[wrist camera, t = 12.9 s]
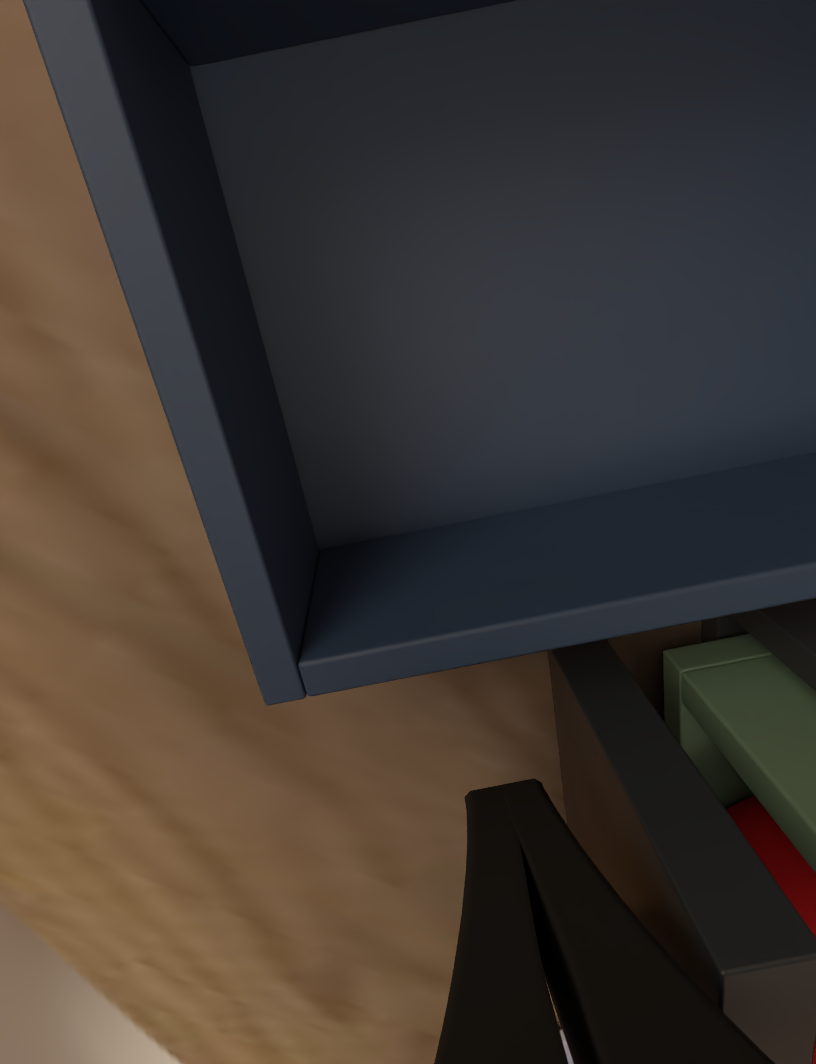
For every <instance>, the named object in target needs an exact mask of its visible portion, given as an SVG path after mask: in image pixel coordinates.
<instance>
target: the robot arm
mask: <svg viewBox="0 0 816 1064" xmlns="http://www.w3.org/2000/svg"><path fill="white" fill-rule="evenodd" d="M465 802H466V810H467V862H466V876H465V886H464V897H463V907H462V916H461V924H460V931H459V937H458V944H457V950H456V956H455V963H454V969H453V976H452V981H451V987H450V992H449V997H448V1003H447V1008H446V1013H445V1018H444V1022H443V1027H442V1032H441V1036H440V1041H439V1045H438V1050H437V1054H436V1059H435V1063H434V1064H775V1063H774V1062H773V1061H772V1060H771V1059H770V1058H769V1057H768V1056H767V1055H766V1054H765V1053H764V1052H763V1051H762V1050H761V1049H760V1048H759V1047H758V1046H757V1045H756V1044H755V1043H754V1042H753V1041H752V1040H751V1039H750V1038H749V1037H748V1036H747V1035H746V1034H745V1033H744V1032H743V1031H742V1030H741V1029H740V1028H739V1027H738V1026H737V1025H736V1024H735V1023H734V1022H733V1021H732V1020H731V1019H730V1018H729V1017H728V1016H727V1015H726V1014H725V1013H724V1012H722V1010H721V1009H720V1008H719V1007H718V1006H717V1005H716V1004H715V1003H714V1002H713V1001H712V1000H711V999H710V998H709V997H708V996H707V995H706V994H705V993H704V992H703V991H702V990H701V988H700V987H699V986H698V985H697V984H696V983H695V982H694V981H693V980H692V979H691V978H690V977H689V976H688V975H687V974H686V973H685V971H684V970H683V969H682V968H681V967H680V966H679V965H678V964H677V963H676V962H675V960H674V959H673V958H672V957H671V956H670V955H669V954H668V953H667V952H666V950H665V949H664V948H663V947H662V946H661V945H660V944H659V942H658V941H657V940H656V939H655V938H654V937H653V935H652V934H651V933H650V932H649V931H648V930H647V928H646V927H645V926H644V925H643V924H642V923H641V921H640V920H639V919H638V918H637V917H636V916H635V914H634V913H633V912H632V911H631V910H630V908H629V907H628V906H627V905H626V903H625V902H624V901H623V900H622V899H621V897H620V896H619V895H618V894H617V892H616V891H615V890H614V888H613V887H612V886H611V885H610V883H609V882H608V881H607V879H606V878H605V877H604V875H603V874H602V873H601V872H600V870H599V869H598V868H597V866H596V865H595V864H594V863H593V861H592V860H591V859H590V857H589V856H588V855H587V853H586V852H585V850H584V849H583V848H582V846H581V845H580V843H579V842H578V841H577V839H576V838H575V836H574V835H573V833H572V832H571V831H570V829H569V828H568V826H567V825H566V823H565V822H564V820H563V819H562V817H561V816H560V814H559V812H558V811H557V809H556V808H555V806H554V804H553V803H552V801H551V799H550V798H549V796H548V794H547V792H546V791H545V789H544V787H543V785H542V783H541V782H540V781H538V780H536V779H529V780H524V781H519V782H514V783H509V784H504V785H499V786H493V787H488V788H483V789H478V790H473V791H470V792H469V793H468V794H467V795H466V796H465ZM545 979H546V980H545ZM546 982H547V984H546ZM547 985H548V987H547ZM548 988H549V991H550V994H551V997H552V1000H553V1003H554V1006H555V1009H556V1012H557V1015H558V1018H559V1021H560V1024H561V1027H562V1029H561V1030H560V1031H559V1027H558V1024H557V1020H556V1016H555V1013H554V1009H553V1005H552V1002H551V998H550V995H549V991H548Z"/></svg>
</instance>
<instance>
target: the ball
mask: <svg viewBox="0 0 816 1064" xmlns="http://www.w3.org/2000/svg"><path fill="white" fill-rule="evenodd" d="M726 810H727V812H728V813H729V815H730V816H731V818H732V819H733V820H734V822H735V823H736V825H737V826H738V828H739V829H740V830H741V832H742V833H743V835H744V836H745V838H746V839H747V840H748V842H749V843H750V845H751V846H752V847H753V849H754V850H755V852H756V853H757V855H758V856H759V857H760V859H761V860H762V862H763V863H764V865H765V866H766V867H767V869H768V870H769V872H770V873H771V875H772V876H773V877H774V879H775V880H776V882H777V883H778V884H779V886H780V887H781V889H782V890H783V892H784V893H785V894H786V896H787V897H788V899H789V900H790V902H791V903H792V904H793V906H794V907H795V909H796V910H797V911H798V913H799V914H800V916H801V917H802V919H803V920H804V921H805V923H806V924H807V926H808V927H809V929H810V930H811V931H812V933H813V934H814V936H815V937H816V873H815V872H814V871H813V869H812V868H811V867H810V865H809V864H808V863H807V862H806V860H805V859H804V858H803V856H802V855H801V854H800V853H799V851H798V850H797V849H796V848H795V846H794V845H793V844H792V842H791V841H790V840H789V839H788V837H787V836H786V835H785V833H784V832H783V831H782V830H781V828H780V827H779V826H778V824H777V823H776V822H775V821H774V819H773V818H772V817H771V816H770V814H769V813H768V812H767V810H766V809H765V808H764V807H763V805H762V804H761V803H760V801H759V800H758V799H757V798H756V796H753V797H749V798H747V799H745V800H742V801H740V802H738V803H736V804H734V805H732V806H731V807H729V808H728V809H726ZM812 1064H816V1041H815V1048H814V1055H813V1063H812Z"/></svg>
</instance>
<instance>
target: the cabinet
mask: <svg viewBox="0 0 816 1064" xmlns="http://www.w3.org/2000/svg"><path fill="white" fill-rule="evenodd" d="M745 634H751V635H752V636H753V637H754V638H755V639H756V640H757V641H759V642H760V643H761V644H762V645H763V646H764V647H765V648H767V649H768V650H769V651H770V652H771V653H772V654H773V655H775V656H776V657H777V658H778V659H779V660H780V661H781V662H783V663H784V664H785V665H786V666H787V667H788V668H790V669H791V670H792V671H793V672H794V673H795V674H796V675H798V676H799V677H800V678H801V679H802V680H803V681H804V682H806V683H807V684H808V685H809V686H810V687H811V688H812V689H814V690H815V691H816V598H815V599H809V600H804V601H799V602H794V603H789V604H784V605H779V606H773V607H768V608H763V609H758V610H753V611H748V612H743V613H737V614H732V615H727V616H722V617H717V618H712V619H707V620H702V643H704V642H709V641H714V640H719V639H724V638H729V637H735V636H740V635H745Z"/></svg>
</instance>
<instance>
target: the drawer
mask: <svg viewBox="0 0 816 1064" xmlns="http://www.w3.org/2000/svg"><path fill="white" fill-rule="evenodd" d="M548 656H549V665H550V674H551V683H552V692H553V701H554V710H555V719H556V728H557V737H558V746H559V755H560V764H561V773H562V782H563V791H564V800H565V809H566V818H567V826H568V828H569V829H570V831H571V832H572V833H573V835H574V836H575V838H576V839H577V841H578V842H579V843H580V845H581V846H582V848H583V849H584V850H585V852H586V853H587V855H588V856H589V857H590V859H591V860H592V861H593V863H594V864H595V865H596V866H597V868H598V869H599V870H600V872H601V873H602V874H603V875H604V877H605V878H606V879H607V881H608V882H609V883H610V885H611V886H612V887H613V888H614V890H615V891H616V892H617V894H618V895H619V896H620V897H621V899H622V900H623V901H624V902H625V903H626V905H627V906H628V907H629V908H630V910H631V911H632V912H633V913H634V914H635V916H636V917H637V918H638V919H639V920H640V921H641V923H642V924H643V925H644V926H645V927H646V928H647V930H648V931H649V932H650V933H651V934H652V935H653V937H654V938H655V939H656V940H657V941H658V942H659V944H660V945H661V946H662V947H663V948H664V949H665V950H666V952H667V953H668V954H669V955H670V956H671V957H672V958H673V959H674V960H675V962H676V963H677V964H678V965H679V966H680V967H681V968H682V969H683V970H684V971H685V973H686V974H687V975H688V976H689V977H690V978H691V979H692V980H693V981H694V982H695V983H696V984H697V985H698V986H699V987H700V988H701V990H702V991H703V992H704V993H705V994H706V995H707V996H708V997H709V998H710V999H711V1000H712V1001H713V1002H714V1003H715V1004H716V1005H717V1006H718V1007H719V1008H720V1009H721V1010H722V1012H724V1013H725V1014H726V1015H727V1016H728V1017H729V1018H730V1019H731V1020H732V1021H733V1022H734V1023H735V1024H736V1025H737V1026H738V1027H739V1028H740V1029H741V1030H742V1031H743V1032H744V1033H745V1034H746V1035H747V1036H748V1037H749V1038H750V1039H751V1040H752V1041H753V1042H754V1043H755V1044H756V1045H757V1046H758V1047H759V1048H760V1049H761V1050H762V1051H763V1052H764V1053H765V1054H766V1055H767V1056H768V1057H769V1058H770V1059H771V1060H772V1061H773V1062H774V1063H775V1064H812V1063H813V1055H814V1048H815V1041H816V937H815V936H814V934H813V933H812V931H811V930H810V929H809V927H808V926H807V924H806V923H805V921H804V920H803V919H802V917H801V916H800V914H799V913H798V911H797V910H796V909H795V907H794V906H793V904H792V903H791V902H790V900H789V899H788V897H787V896H786V894H785V893H784V892H783V890H782V889H781V887H780V886H779V884H778V883H777V882H776V880H775V879H774V877H773V876H772V875H771V873H770V872H769V870H768V869H767V867H766V866H765V865H764V863H763V862H762V860H761V859H760V857H759V856H758V855H757V853H756V852H755V850H754V849H753V847H752V846H751V845H750V843H749V842H748V840H747V839H746V838H745V836H744V835H743V833H742V832H741V830H740V829H739V828H738V826H737V825H736V823H735V822H734V820H733V819H732V818H731V816H730V815H729V813H728V812H727V810H726V809H728V808H729V807H731V806H732V805H734V804H736V803H738V802H740V801H742V800H745V799H747V798H749V797H753V796H756V798H757V799H758V800H759V801H760V803H761V804H762V805H763V807H764V808H765V809H766V810H767V812H768V813H769V814H770V816H771V817H772V818H773V819H774V821H775V822H776V823H777V824H778V826H779V827H780V828H781V830H782V831H783V832H784V833H785V835H786V836H787V837H788V839H789V840H790V841H791V842H792V844H793V845H794V846H795V848H796V849H797V850H798V851H799V853H800V854H801V855H802V856H803V858H804V859H805V860H806V862H807V863H808V864H809V865H810V867H811V868H812V869H813V871H814V872H815V873H816V691H815V690H814V689H812V688H811V687H810V686H809V685H808V684H807V683H806V682H804V681H803V680H802V679H801V678H800V677H799V676H798V675H796V674H795V673H794V672H793V671H792V670H791V669H790V668H788V667H787V666H786V665H785V664H784V663H783V662H781V661H780V660H779V659H778V658H777V657H776V656H775V655H773V654H772V653H771V652H770V651H769V650H768V649H767V648H765V647H764V646H763V645H762V644H761V643H760V642H759V641H757V640H756V639H755V638H754V637H753V636H752V635H751V634H745V635H740V636H735V637H729V638H724V639H719V640H714V641H709V642H704V643H699V644H693V645H688V646H683V647H678V648H673V649H668V650H664V651H663V669H664V715H665V722H664V721H663V719H662V718H661V717H660V715H659V714H658V712H657V711H656V709H655V708H654V707H653V705H652V704H651V702H650V701H649V700H648V698H647V697H646V695H645V694H644V692H643V691H642V690H641V688H640V687H639V685H638V684H637V682H636V681H635V680H634V678H633V677H632V675H631V674H630V672H629V671H628V670H627V668H626V667H625V665H624V664H623V663H622V661H621V660H620V658H619V657H618V655H617V654H616V653H615V651H614V650H613V648H612V647H611V645H610V644H609V643H608V641H607V640H606V639H604V640H599V641H594V642H588V643H583V644H578V645H573V646H568V647H563V648H558V649H552V650H548Z"/></svg>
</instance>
